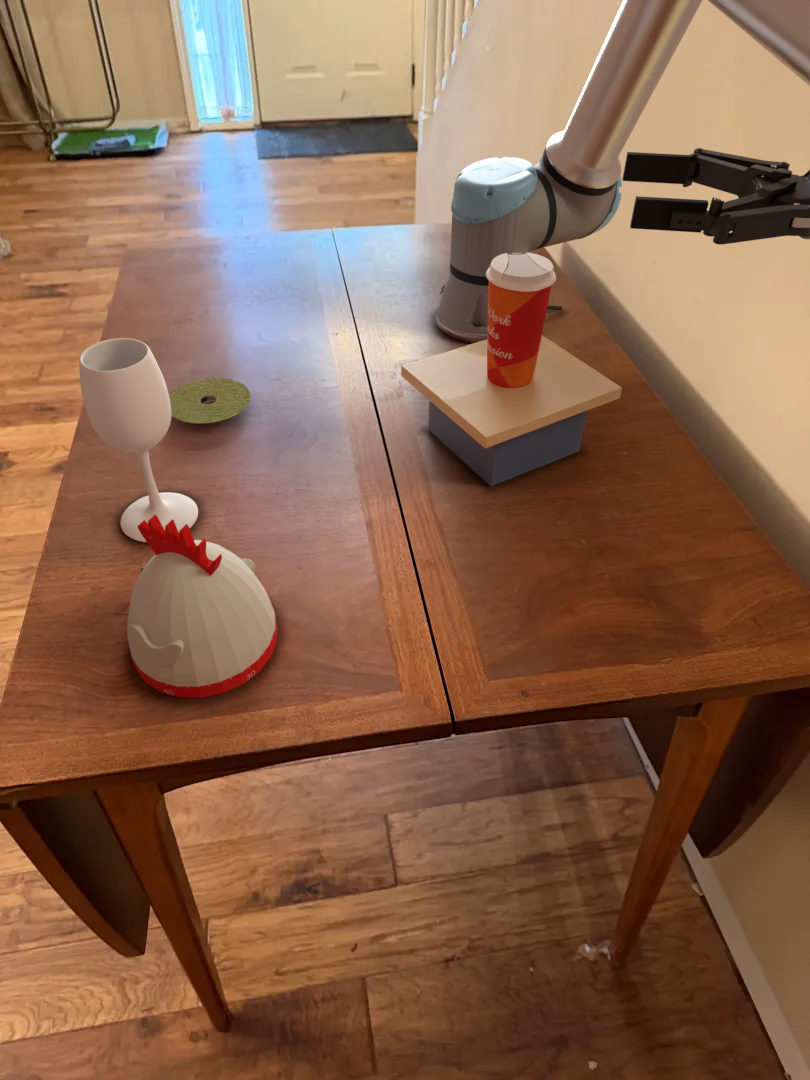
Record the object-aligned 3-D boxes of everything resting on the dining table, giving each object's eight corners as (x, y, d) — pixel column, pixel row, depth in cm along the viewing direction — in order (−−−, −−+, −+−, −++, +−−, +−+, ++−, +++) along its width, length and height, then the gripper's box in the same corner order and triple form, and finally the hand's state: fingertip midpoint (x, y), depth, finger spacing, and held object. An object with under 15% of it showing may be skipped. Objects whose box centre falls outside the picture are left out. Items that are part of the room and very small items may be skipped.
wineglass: (212, 503, 91) (177, 340, 77) (172, 550, 85) (127, 384, 71) (148, 487, 93) (103, 326, 79) (105, 533, 87) (48, 368, 73)
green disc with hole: (269, 410, 106) (267, 397, 104) (201, 445, 100) (198, 432, 98) (218, 380, 111) (216, 368, 110) (151, 412, 105) (148, 399, 104)
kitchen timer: (192, 572, 83) (162, 459, 73) (303, 614, 78) (288, 499, 68) (102, 666, 73) (54, 551, 63) (222, 719, 69) (192, 605, 59)
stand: (521, 387, 110) (528, 326, 104) (607, 452, 99) (622, 387, 93) (400, 429, 103) (401, 365, 96) (480, 504, 91) (486, 437, 85)
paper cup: (473, 361, 97) (481, 250, 87) (534, 359, 97) (548, 248, 88) (483, 395, 91) (493, 280, 82) (548, 392, 92) (565, 278, 82)
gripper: (871, 292, 69) (628, 276, 72) (807, 195, 88) (615, 185, 90) (908, 206, 64) (646, 191, 67) (832, 122, 82) (628, 113, 85)
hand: (628, 188), depth 78 cm, fingers open, 13 cm apart
